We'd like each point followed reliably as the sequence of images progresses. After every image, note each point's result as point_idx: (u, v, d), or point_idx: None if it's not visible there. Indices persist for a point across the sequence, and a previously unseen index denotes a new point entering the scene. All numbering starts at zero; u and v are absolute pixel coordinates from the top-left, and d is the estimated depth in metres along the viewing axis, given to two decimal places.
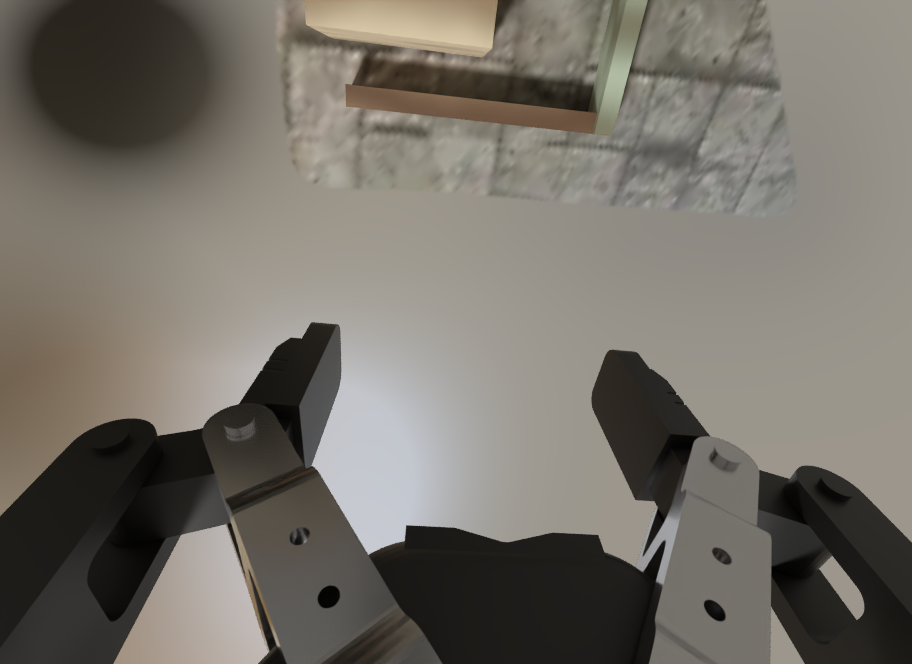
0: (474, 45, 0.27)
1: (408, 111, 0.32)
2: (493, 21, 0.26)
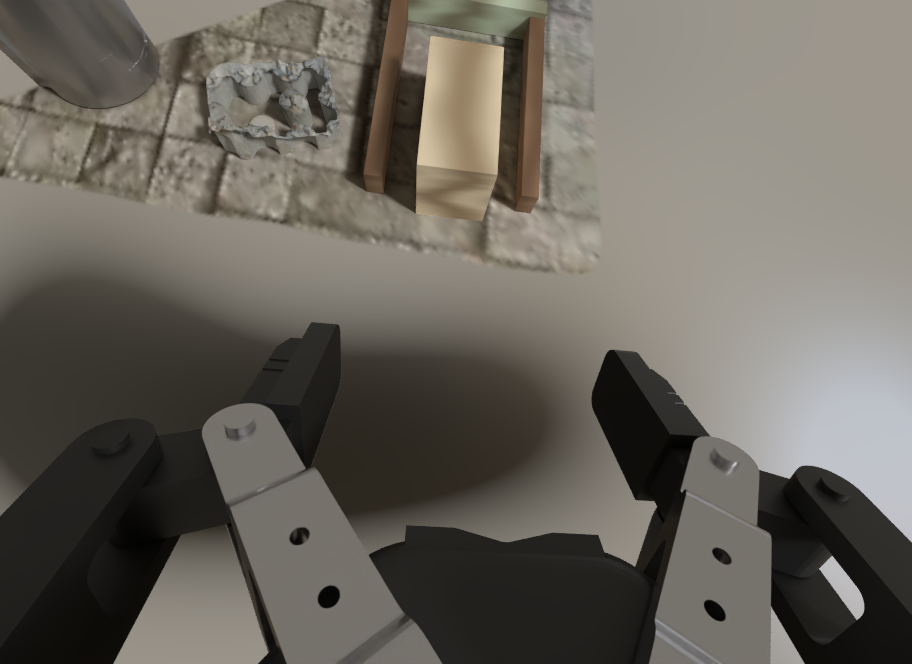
0: (502, 59, 0.33)
1: (538, 149, 0.36)
2: (486, 45, 0.33)
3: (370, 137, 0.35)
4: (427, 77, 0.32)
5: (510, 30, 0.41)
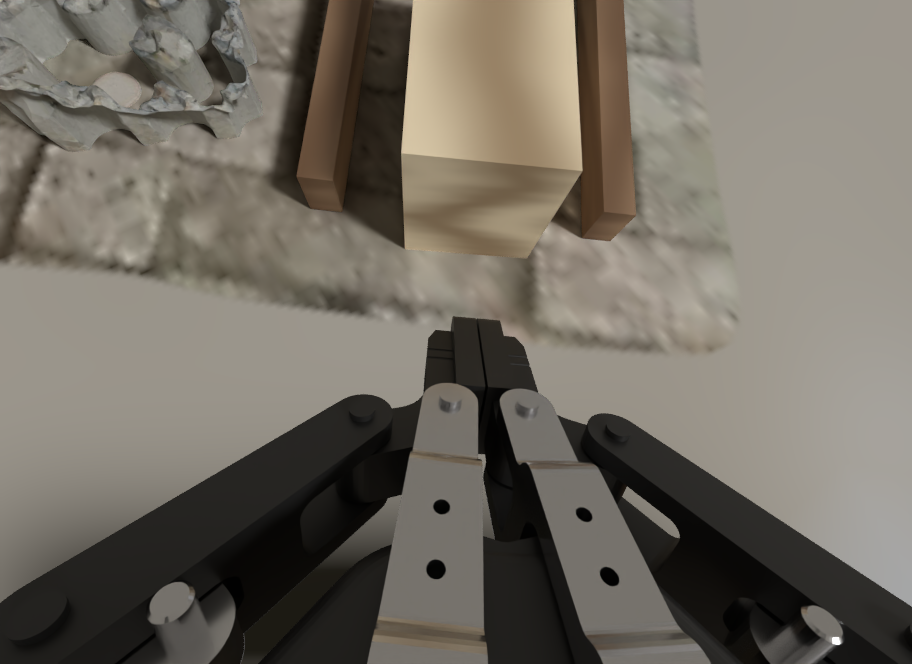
0: None
1: (628, 125, 0.20)
2: None
3: (311, 106, 0.18)
4: None
5: None
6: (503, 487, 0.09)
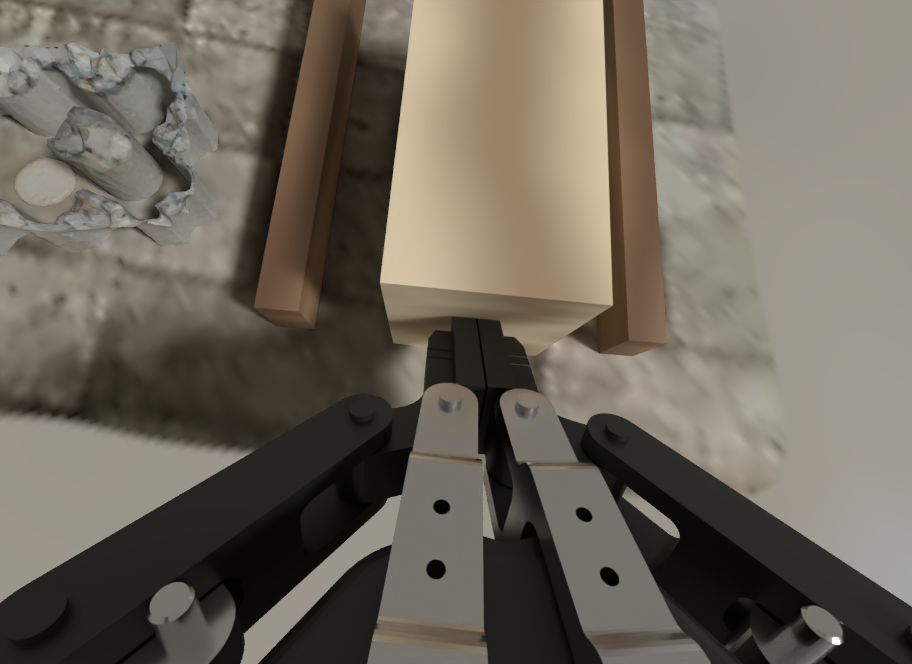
0: None
1: (655, 226, 0.16)
2: None
3: (274, 213, 0.15)
4: (413, 34, 0.12)
5: None
6: (503, 487, 0.09)
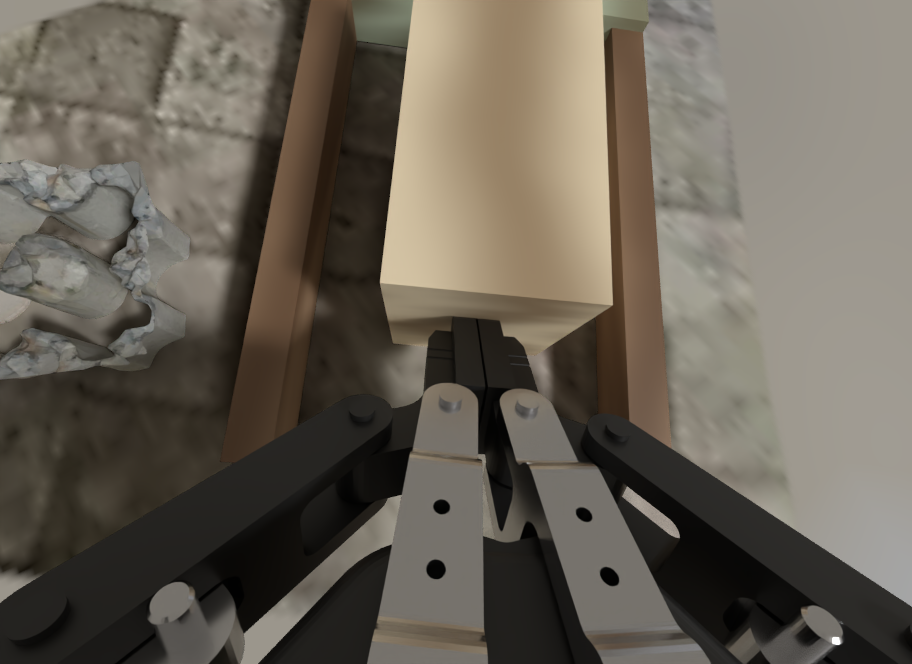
0: None
1: (661, 348, 0.15)
2: None
3: (245, 348, 0.14)
4: (412, 34, 0.12)
5: None
6: (503, 487, 0.09)
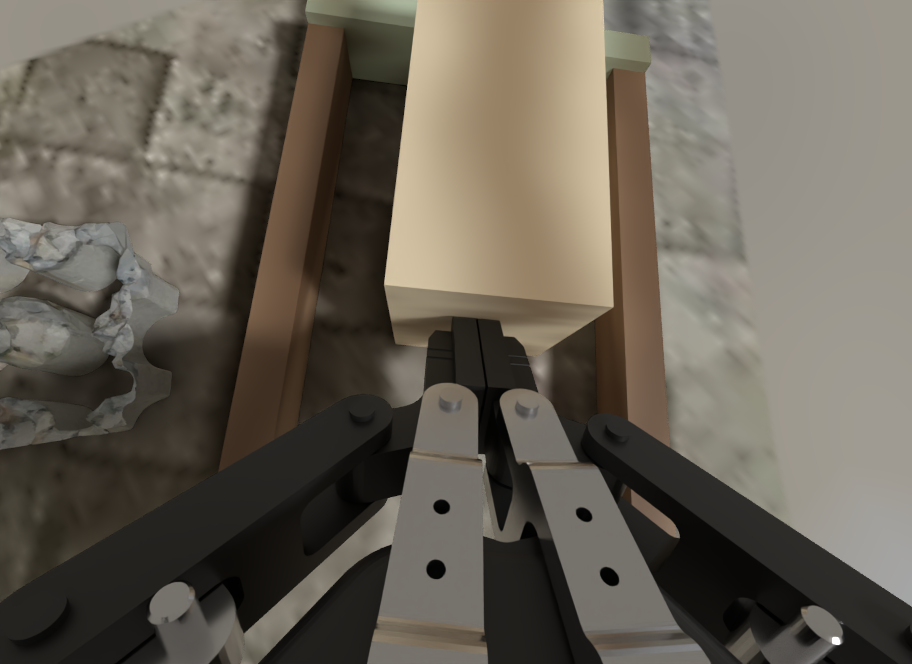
0: None
1: (663, 408, 0.15)
2: None
3: (232, 414, 0.13)
4: (416, 39, 0.12)
5: None
6: (503, 487, 0.09)
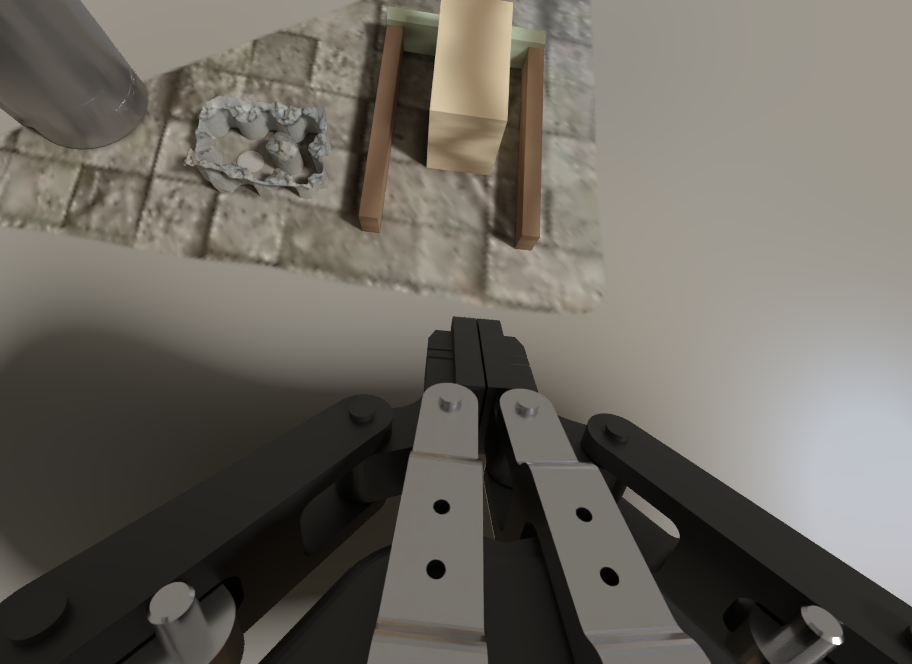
0: (511, 14, 0.34)
1: (539, 186, 0.35)
2: (496, 1, 0.34)
3: (365, 176, 0.34)
4: (439, 29, 0.33)
5: None
6: (503, 487, 0.09)
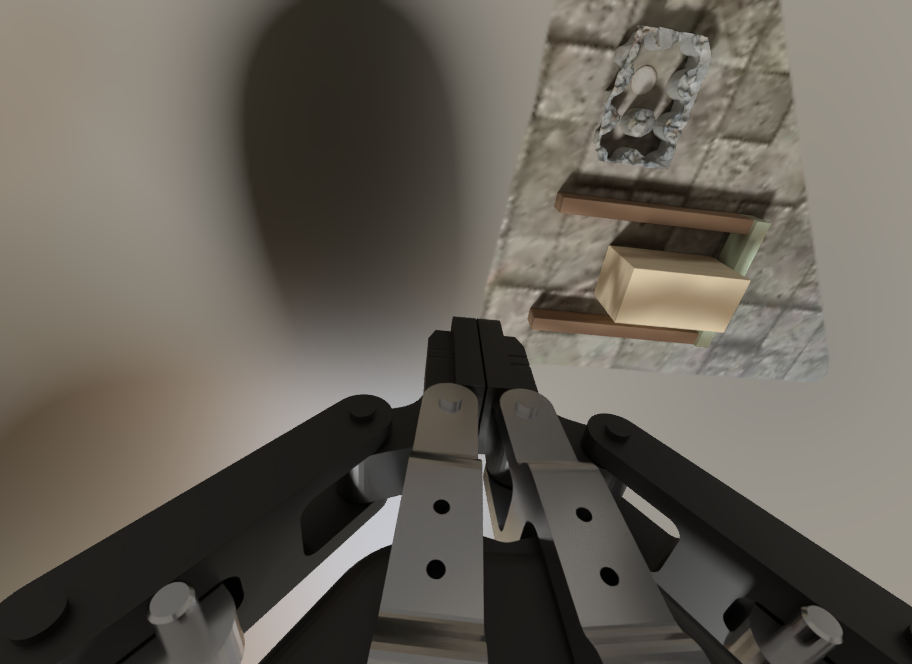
0: (712, 330, 0.43)
1: (572, 332, 0.48)
2: (728, 320, 0.42)
3: (599, 202, 0.40)
4: (710, 277, 0.40)
5: None
6: (503, 487, 0.09)
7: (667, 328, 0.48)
